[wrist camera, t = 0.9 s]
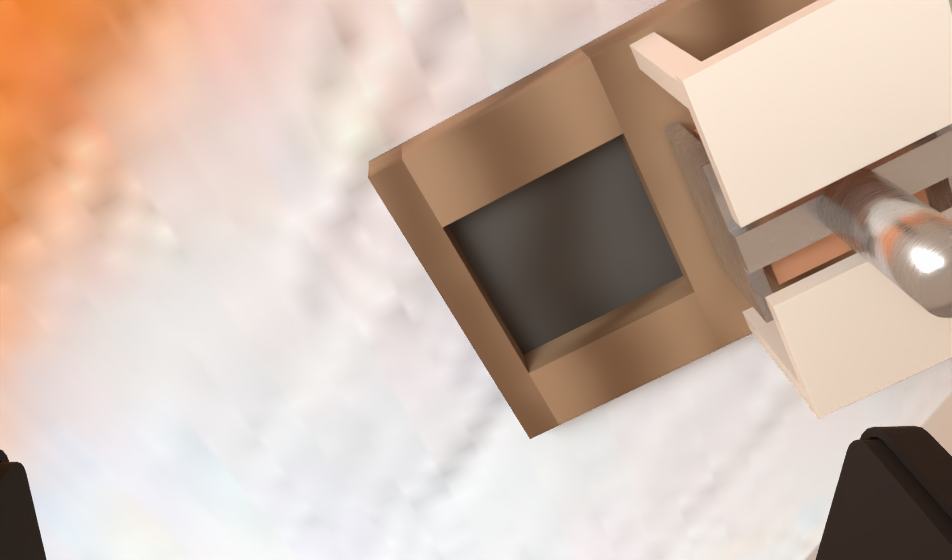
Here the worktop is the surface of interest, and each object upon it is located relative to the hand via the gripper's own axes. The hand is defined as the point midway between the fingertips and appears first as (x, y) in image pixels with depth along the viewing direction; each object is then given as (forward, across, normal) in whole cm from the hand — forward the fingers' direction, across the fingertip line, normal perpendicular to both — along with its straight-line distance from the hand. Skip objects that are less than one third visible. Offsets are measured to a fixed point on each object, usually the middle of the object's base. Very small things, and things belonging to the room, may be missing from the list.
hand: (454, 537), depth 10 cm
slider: (+23, -15, +3) cm, 28 cm away
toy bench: (+24, -15, +3) cm, 28 cm away
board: (+26, -15, +3) cm, 30 cm away
